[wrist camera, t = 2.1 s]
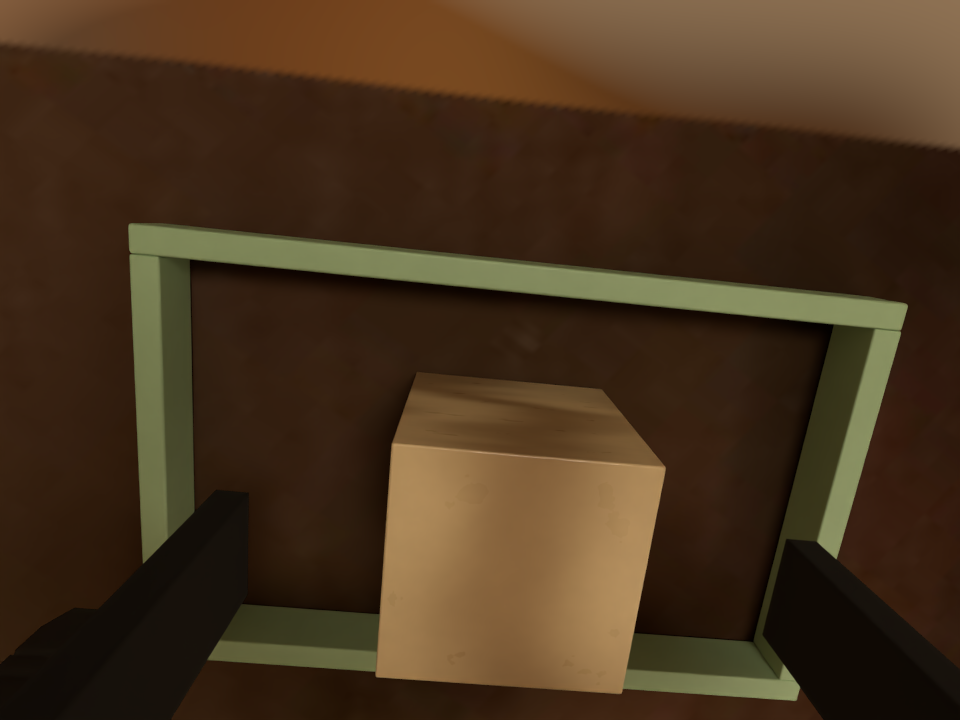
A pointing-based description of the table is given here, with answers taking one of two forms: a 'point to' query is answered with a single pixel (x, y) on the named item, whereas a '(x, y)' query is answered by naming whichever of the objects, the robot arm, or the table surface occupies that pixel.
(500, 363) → the table surface
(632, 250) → the table surface
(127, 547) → the table surface
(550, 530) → the block
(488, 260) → the frame
